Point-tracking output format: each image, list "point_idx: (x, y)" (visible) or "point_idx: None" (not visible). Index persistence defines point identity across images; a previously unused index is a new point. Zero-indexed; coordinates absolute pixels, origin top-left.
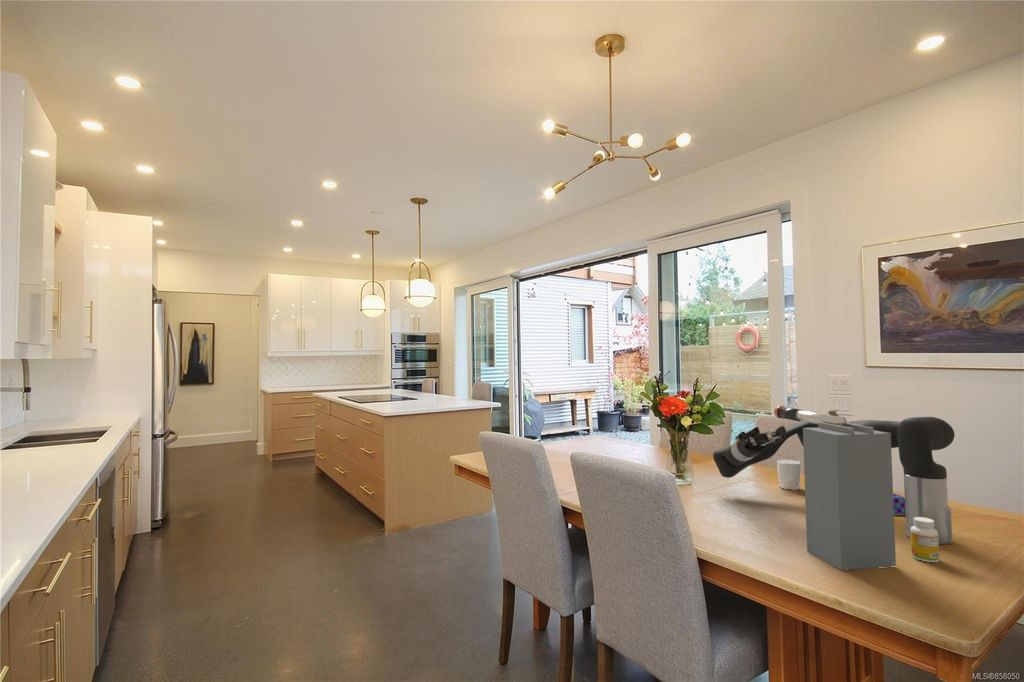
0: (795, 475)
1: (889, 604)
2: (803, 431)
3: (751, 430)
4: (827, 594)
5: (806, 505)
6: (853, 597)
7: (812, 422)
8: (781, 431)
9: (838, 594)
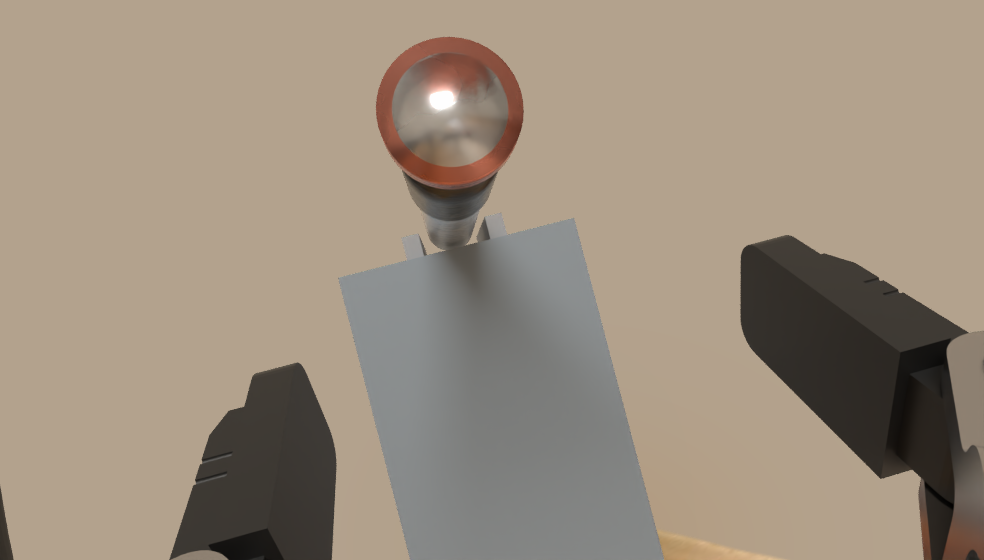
0: None
1: None
2: (577, 232)
3: (890, 293)
4: (730, 549)
5: (660, 550)
6: (678, 554)
7: (474, 221)
8: (323, 463)
9: (706, 554)
